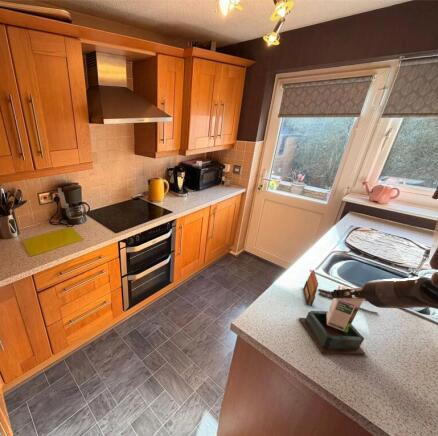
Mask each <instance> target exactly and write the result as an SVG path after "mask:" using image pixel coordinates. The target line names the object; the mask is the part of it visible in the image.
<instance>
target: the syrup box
mask: <svg viewBox="0 0 438 436" xmlns="http://www.w3.org/2000/svg"><path fill="white" fill-rule="evenodd" d="M348 288H351V287H350V286H347V285H343V284H340V283H339V284H338V287H337V289H336V290H343V289H348ZM354 291H355V290H352V291H351V292H354ZM352 297H353V298H356V297H355V296H354V295H352ZM363 302H364V301H361V300H349V299H348V298H343V299H341V298H339V299H337V298H332V300H331V303H330V305H329V307H328V310H327V311H328V312H327V325H328V326H332V327H334V328H337V329H339V330H342V331H344V332H348V330H349V328H350V326H351V324H352V323H353V321H354V319H355V318H356V316H357V313H358V312H359V310H360V309H359V308H360V307H361V306H362V305H363ZM352 325H353V324H352Z"/></svg>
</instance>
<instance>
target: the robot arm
mask: <svg viewBox="0 0 438 436" xmlns="http://www.w3.org/2000/svg"><path fill="white" fill-rule="evenodd" d="M352 290H355V291H354V292H351V291H352ZM352 295H354V296H355V297H356V298H353V297H352ZM331 296H332V298H331V299H333V298H337V299H339V298H341V299H343V298H348V299H349V300H361V301H363V302H368V303H369V304H370V305H372V306H374V307H376V308H381V309H412V308H417V309H418V308H419V309H420V308H423V309H424V308H425V309H426V308H427V309H434V310H438V269H436V270H435V271H434V272H433V273H432V275H431V277H428V276H427V277H426V276H416V277H406V278H405V277H403V278H399V277H398V278H394V277H393V278H383V279H375V280H369V281H367V282H366V283H365V284H364V285H363V287H362V286H361V287H360V286H359V287H350V288H348V289H343V290H337V289H333V290H331Z"/></svg>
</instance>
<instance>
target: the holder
mask: <svg viewBox="0 0 438 436" xmlns="http://www.w3.org/2000/svg"><path fill="white" fill-rule="evenodd" d="M327 312H328V310H310V311H308V312H307V314H306V317H299V319H298V321H299V322H300V324H301V325H302V327H303V328H304V330H305V332H306V333H307V334H308V336H309V338H310V339H311V340H312V342H313V343H314V345H315V346H316V348H317V349H318V350H319V352H320V354H323V355H344V356H345V355H346V356H347V355H348V356H349V355H350V356H365V355H366V352H365V351H364V350H363V348H361V345H362V343H363V342H364V340H365V338H364V337H363V335H362V334H361V333H360V332H359V331H358V329H356V327H355V326H353V324H351V326H350V328H349V330H348V332H344V331H342V330H339V329H337V328H334V327H332V326H328V325H327Z"/></svg>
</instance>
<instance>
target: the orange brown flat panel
mask: <svg viewBox="0 0 438 436" xmlns="http://www.w3.org/2000/svg"><path fill="white" fill-rule="evenodd" d="M318 287H319V282H318V279H317V275H316V272H315V269H312V271H311V272H310V273H309V275H308V277H307V280H306V281H305V283H304V286H303V288H302V290H303V295H304V300H305V305H306V306H310V307H312V306H313V305H314V301H315V299H316V294H317V291H318Z"/></svg>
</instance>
